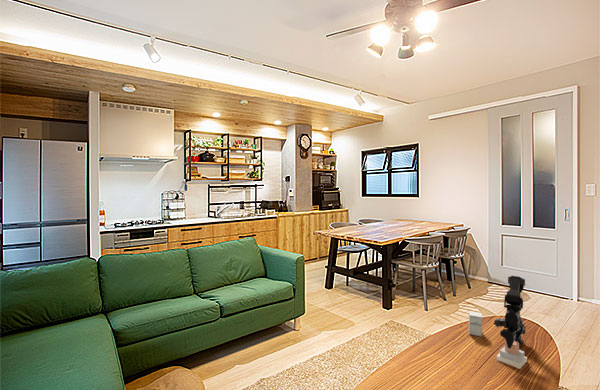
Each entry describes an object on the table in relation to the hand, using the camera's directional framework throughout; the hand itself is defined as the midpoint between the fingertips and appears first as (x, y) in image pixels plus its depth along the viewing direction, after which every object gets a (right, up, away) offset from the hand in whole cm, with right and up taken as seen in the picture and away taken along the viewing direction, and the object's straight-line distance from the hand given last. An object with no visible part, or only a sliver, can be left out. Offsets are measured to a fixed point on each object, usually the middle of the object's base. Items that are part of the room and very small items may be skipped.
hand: (512, 345), depth 171 cm
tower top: (0, -6, 0) cm, 6 cm away
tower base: (0, -9, +1) cm, 9 cm away
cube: (0, -3, 0) cm, 3 cm away
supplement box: (-3, -8, +32) cm, 33 cm away
